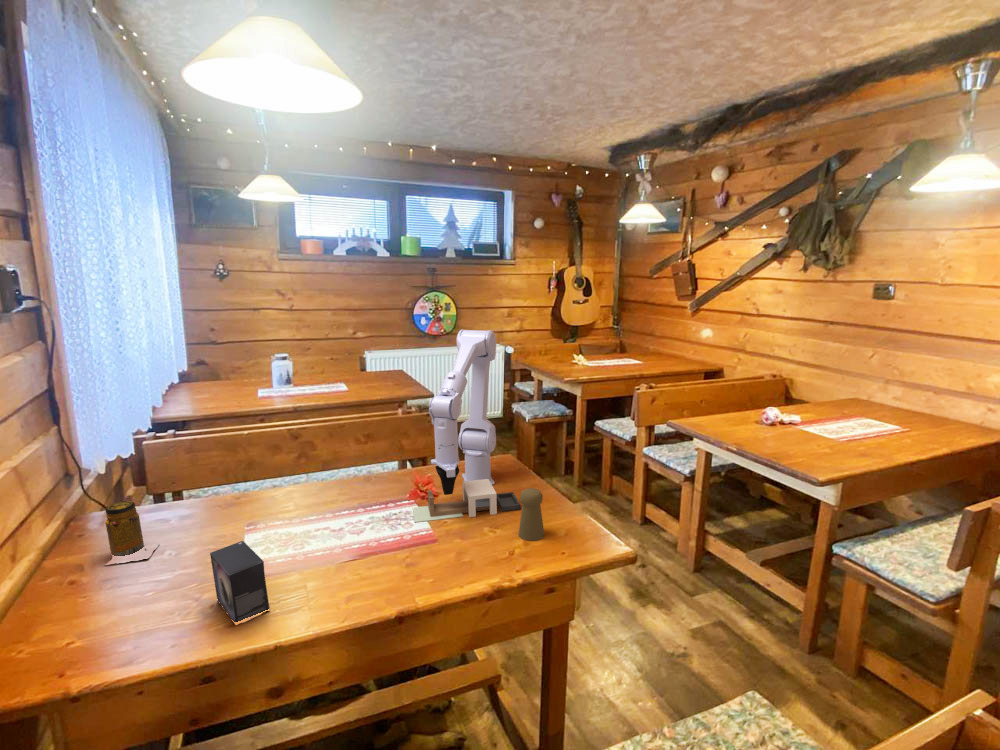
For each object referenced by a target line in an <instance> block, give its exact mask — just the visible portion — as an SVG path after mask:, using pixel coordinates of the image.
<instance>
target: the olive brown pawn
mask: <svg viewBox="0 0 1000 750" xmlns="http://www.w3.org/2000/svg"><path fill="white" fill-rule="evenodd" d="M543 497H544V495H543V493H542V492H541V490H539V489H537V488H532V487H530V488H524V490H522V491H521V492H520V496H519V499H520V504H522V505H521V514H520V521H519V529H518V537H519V538H520V539H522V540H523V541H528V542H536V541H540V540H543V538H544V537H545V529H544V523H543V516H542V515H543V514H542V507H541V504H542V503H543V500H544V499H543Z"/></svg>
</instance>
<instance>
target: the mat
mask: <svg viewBox="0 0 1000 750" xmlns="http://www.w3.org/2000/svg"><path fill="white" fill-rule="evenodd" d="M412 513H413V519H414V520H413V521H414V523H423V522H430V521H431V522H432V521H440V520H446V519H447V520H448V519H456V518H463V517H464V515H463V513H457V514H448V515H440V516H432V517H430V513H429V508H428V505H426V506H425V505H424V506H417V507H412Z"/></svg>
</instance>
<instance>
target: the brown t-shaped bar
mask: <svg viewBox="0 0 1000 750" xmlns="http://www.w3.org/2000/svg"><path fill="white" fill-rule="evenodd" d="M427 502H428V503H427V506H428V508H429V513H430V517H432V516H440V515H448V514H457V513H462V514H463V513H469V507H468V500H465V501H463V500H457V501H456V500H455V501H449V502H442V503H441V502H439V503H435V499H434V494H433V491H432V489H427ZM475 503H476V512H481V511H488V510H489V511H490V505H489V498H485V499H476V500H475Z"/></svg>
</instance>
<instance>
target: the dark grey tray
mask: <svg viewBox="0 0 1000 750" xmlns="http://www.w3.org/2000/svg"><path fill="white" fill-rule="evenodd" d="M496 495H497V505H498V506H497V507H500V508H499V509H500V511H501V513H504V512H505V513H506V512H514V511H522V505H521V504H522V503H521V502H520V501H519V499H518V498H517V496H516V495H515V493H514V492H513V491H510V492H509V491H508V492H502V493H501V492H500V493H496Z"/></svg>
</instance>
